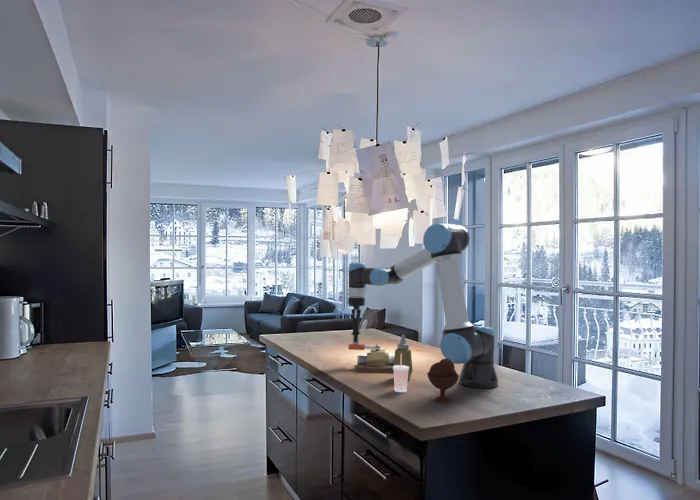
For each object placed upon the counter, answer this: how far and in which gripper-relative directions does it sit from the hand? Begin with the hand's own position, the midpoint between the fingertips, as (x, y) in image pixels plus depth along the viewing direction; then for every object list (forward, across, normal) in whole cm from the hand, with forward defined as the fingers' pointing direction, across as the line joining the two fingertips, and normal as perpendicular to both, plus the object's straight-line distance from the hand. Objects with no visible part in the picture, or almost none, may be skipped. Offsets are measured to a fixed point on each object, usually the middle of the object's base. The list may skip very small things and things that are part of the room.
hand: (355, 348), depth 233 cm
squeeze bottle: (+8, +20, +21) cm, 30 cm away
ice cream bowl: (+8, +49, +34) cm, 60 cm away
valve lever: (0, +2, +4) cm, 5 cm away
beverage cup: (+8, +38, +20) cm, 43 cm away
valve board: (+8, +3, +10) cm, 13 cm away
